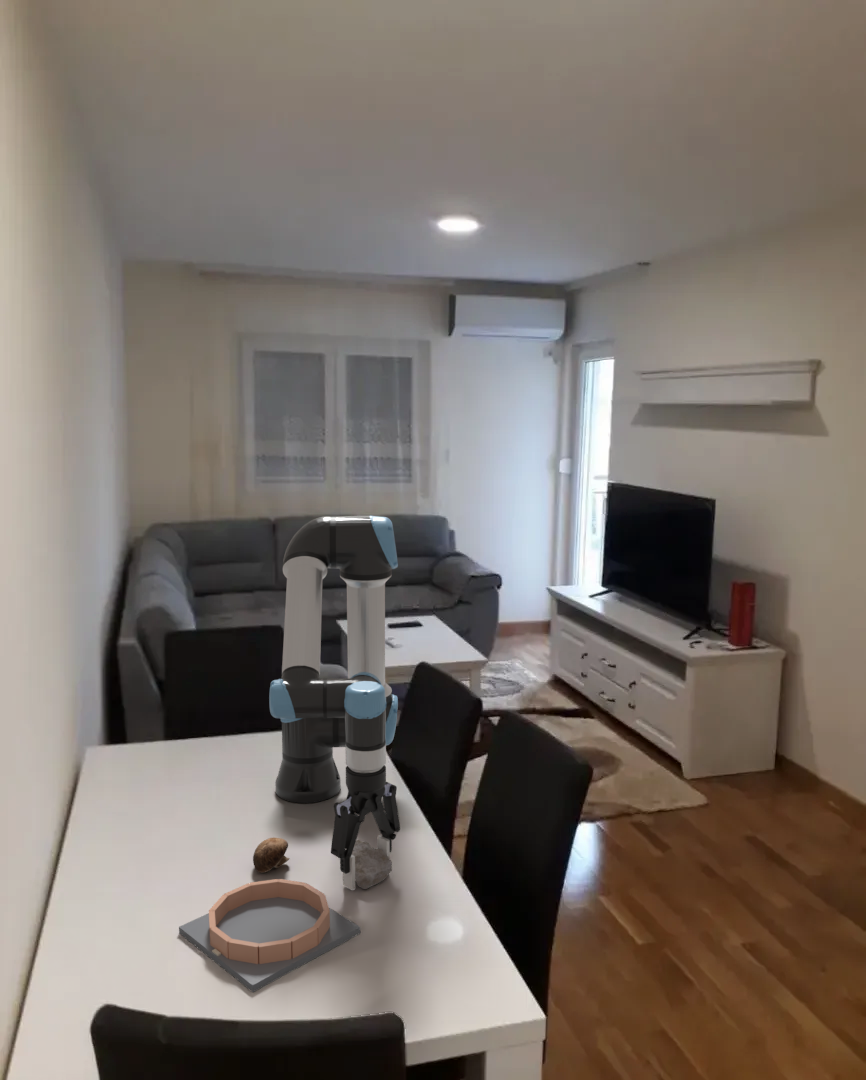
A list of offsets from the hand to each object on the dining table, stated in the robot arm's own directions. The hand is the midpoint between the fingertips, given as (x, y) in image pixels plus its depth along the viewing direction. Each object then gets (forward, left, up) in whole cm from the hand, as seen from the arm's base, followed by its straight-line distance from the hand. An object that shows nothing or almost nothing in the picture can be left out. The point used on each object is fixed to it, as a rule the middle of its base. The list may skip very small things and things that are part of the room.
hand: (366, 877), depth 173 cm
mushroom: (+10, -17, -1) cm, 20 cm away
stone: (-1, 0, -1) cm, 1 cm away
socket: (+23, +1, -1) cm, 23 cm away
